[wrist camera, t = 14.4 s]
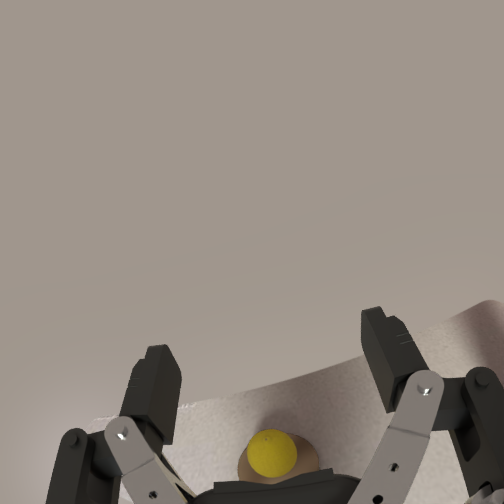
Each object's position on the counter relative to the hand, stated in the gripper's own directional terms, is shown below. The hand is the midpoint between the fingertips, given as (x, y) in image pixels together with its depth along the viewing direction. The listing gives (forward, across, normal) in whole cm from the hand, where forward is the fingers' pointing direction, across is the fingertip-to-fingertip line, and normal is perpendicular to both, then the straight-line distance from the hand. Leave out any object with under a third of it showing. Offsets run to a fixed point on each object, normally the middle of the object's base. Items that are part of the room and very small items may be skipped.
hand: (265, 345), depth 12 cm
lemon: (+7, +3, +29) cm, 30 cm away
